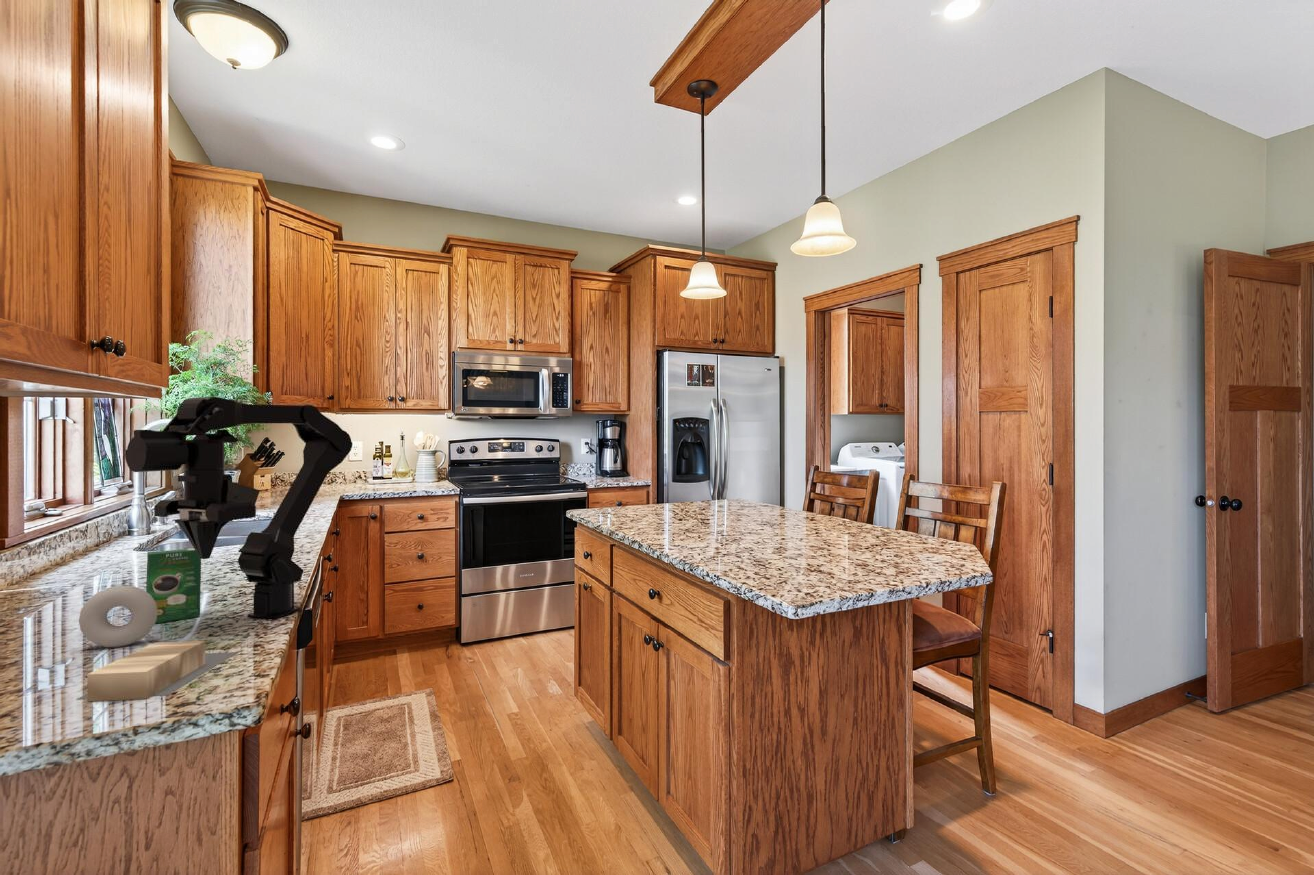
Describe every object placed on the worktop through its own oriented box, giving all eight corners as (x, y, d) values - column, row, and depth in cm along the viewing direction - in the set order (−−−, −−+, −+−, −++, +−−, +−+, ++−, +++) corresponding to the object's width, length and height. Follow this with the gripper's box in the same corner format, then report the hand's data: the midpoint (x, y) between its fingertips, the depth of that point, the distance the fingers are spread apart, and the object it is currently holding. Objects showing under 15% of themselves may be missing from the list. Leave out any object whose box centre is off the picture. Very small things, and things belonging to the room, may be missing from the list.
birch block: (154, 642, 90) (87, 674, 78) (205, 640, 91) (146, 671, 79) (154, 666, 90) (87, 701, 78) (205, 664, 91) (146, 698, 79)
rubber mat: (163, 656, 94) (163, 655, 94) (238, 653, 96) (238, 652, 96) (76, 700, 79) (76, 699, 79) (167, 696, 80) (167, 695, 80)
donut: (161, 639, 102) (160, 580, 102) (153, 645, 99) (153, 584, 99) (84, 647, 98) (84, 586, 98) (74, 654, 95) (74, 591, 95)
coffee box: (200, 613, 117) (199, 546, 117) (202, 616, 115) (201, 548, 115) (145, 622, 112) (145, 551, 112) (146, 626, 110) (146, 553, 110)
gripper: (285, 467, 109) (285, 554, 109) (219, 466, 116) (219, 547, 117) (220, 471, 99) (220, 566, 99) (152, 469, 106) (152, 558, 106)
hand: (205, 558), depth 105 cm, fingers closed
